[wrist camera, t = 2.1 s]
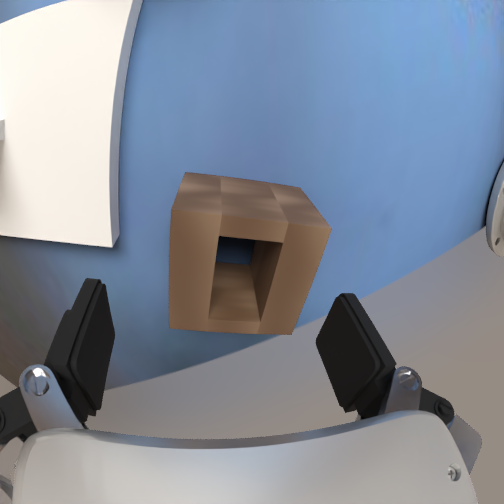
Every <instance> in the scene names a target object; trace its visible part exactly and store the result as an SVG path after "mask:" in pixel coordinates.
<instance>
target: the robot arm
mask: <svg viewBox="0 0 504 504" xmlns="http://www.w3.org/2000/svg"><path fill="white" fill-rule="evenodd" d="M486 235H487V242H488V245H489V247H490V248H491V250H492V251H493V252H495V253H496V254H497V255H498V256H501V257H504V162H503V164H502V166H501V168H500V171H499V173H498V175H497V178H496V181H495V184H494V186H493V190H492V193H491V197H490V201H489V206H488V211H487V219H486ZM114 339H115V331H114V327H113V322H112V317H111V312H110V307H109V302H108V297H107V291H106V285H105V284H102V283H101V280H99V279H90V278H87V279H85V281H84V283H83V285H82V287H81V289H80V292H79V294H78V296H77V298H76V300H75V302H74V305H73V307H72V309H71V310H67V311H66V312H65V313H64V315H63V318H62V320H61V322H60V325H59V327H58V329H57V332H56V334H55V337H54V339H53V342H52V344H51V347H50V349H49V352H48V355H47V358H46V360H45V363H44V366H43V365H32V366H30V367H28V368H27V369H25V370H24V372H23V373H22V375H21V377H20V382H19V385H20V387H18V388H16V389H15V390H13V391H11V392H9V393H8V394H6V395H4V396H2V397H1V398H0V504H478V500H477V497H476V494H475V490H474V487H473V484H472V481H471V479H470V476H469V475H470V472H471V470H472V468H473V466H474V463H475V461H476V459H477V456H478V454H479V452H480V449H481V445H482V439H481V436H480V435H479V434H478V433H477V432H476V431H475V430H474V429H473V428H472V427H471V426H470V425H468V424H467V423H466V422H465V421H464V420H463V419H462V418H460V417H459V416H458V415H455V416H454V409H453V407H452V405H451V404H450V402H449V401H447V400H446V399H444V398H442V397H440V396H438V395H436V394H434V393H432V392H430V391H428V390H426V389H424V388H422V381H421V378H420V376H419V375H418V373H416V372H415V371H414V370H413V369H411V368H409V367H399V368H398V369H396V368H395V365H396V362H395V360H394V359H393V357H392V355H391V353H390V352H389V350H388V349H387V346H386V345H385V343H384V341H383V340H382V338H381V336H380V335H379V333H378V331H377V330H376V328H375V326H374V325H373V323H372V321H371V320H370V318H369V316H368V315H367V313H366V312H365V310H364V308H363V307H362V305H361V303H360V302H359V300H358V299H357V297H356V296H355V294H353V293H342V294H340V295H339V296H338V297H336V299H335V301H334V303H333V305H332V307H331V309H330V311H329V313H328V316H327V318H326V320H325V322H324V324H323V326H322V328H321V330H320V333H319V334H318V336H317V338H316V346H317V349H318V351H319V354H320V356H321V359H322V361H323V364H324V366H325V369H326V371H327V374H328V377H329V379H330V382H331V384H332V387H333V389H334V392H335V395H336V397H337V400H338V403H339V405H340V406H341V407H343V409H344V411H345V413H346V412H351V411H355V410H356V409H357V412H358V415H357V418H356V421H355V422H351V423H346V424H342V425H337V426H333V427H328V428H323V429H317V430H311V431H305V432H299V433H292V434H284V435H276V436H266V437H256V438H240V439H209V440H208V439H205V440H204V439H203V440H202V439H172V438H157V437H145V436H135V435H126V434H118V433H111V432H104V431H96V430H90V429H89V428H88V426H87V425H86V423H85V422H86V421H87V417H88V415H91V416H96V410H100V409H101V405H102V399H103V393H104V387H105V382H106V376H107V371H108V366H109V362H110V357H111V352H112V348H113V344H114ZM16 461H17V464H16V470H15V475H14V483H13V486H12V483H11V480H10V474H11V472H12V470H13V469H14V468H15V464H14V463H15V462H16Z"/></svg>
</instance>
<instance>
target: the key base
mask: <svg viewBox="0 0 504 504" xmlns="http://www.w3.org/2000/svg"><path fill="white" fill-rule="evenodd" d="M142 2H143V0H68V1H64V2H60V3H56V4H53V5H50V6H46V7H43V8H40V9H37V10H34V11H31V12H29V13H26V14H23V15H21V16H18V17H16V18H13V19H11V20H8V21H6V22H4V23H2V24H0V235H4V236H12V237H21V238H30V239H39V240H48V241H57V242H66V243H75V244H85V245H94V246H104V247H113V245H114V244H115V242H116V240H117V238H118V237H119V235H120V231H119V203H118V173H119V145H120V130H121V118H122V107H123V98H124V90H125V83H126V76H127V70H128V64H129V58H130V53H131V48H132V43H133V38H134V33H135V29H136V25H137V20H138V16H139V13H140V9H141V5H142Z"/></svg>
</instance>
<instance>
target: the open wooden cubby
mask: <svg viewBox="0 0 504 504" xmlns="http://www.w3.org/2000/svg"><path fill="white" fill-rule="evenodd" d="M331 230H332V228H331V227H330V226H329V224H328V223H327V222H326V220H325V219H324V218H323V216H322V215H321V214H320V213H319V211H318V210H317V209H316V207H315V206H314V205H313V203H312V202H311V201H310V200H309V198H308V197H307V196H306V195H305V193H304V192H303V191H302V190H301V188H298V187H293V186H287V185H281V184H274V183H268V182H261V181H254V180H247V179H240V178H232V177H224V176H216V175H207V174H198V173H188V172H185V174H184V177H183V180H182V182H181V185H180V187H179V190H178V193H177V195H176V198H175V201H174V204H173V206H172V209H171V225H170V249H169V328H172V329H183V330H195V331H208V332H224V333H244V334H281V335H290V334H292V332H293V330H294V327H295V325H296V323H297V320H298V318H299V315H300V313H301V310H302V308H303V305H304V303H305V300H306V298H307V295H308V293H309V290H310V287H311V285H312V282H313V280H314V277H315V274H316V272H317V269H318V266H319V264H320V261H321V258H322V255H323V252H324V250H325V247H326V244H327V241H328V238H329V235H330V233H331ZM219 236H225V237H235V238H245V239H254V240H255V243H254V248H253V252H252V257H251V261H250V265H245V264H234V263H223V262H215V260H216V252H217V245H218V238H219Z"/></svg>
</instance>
